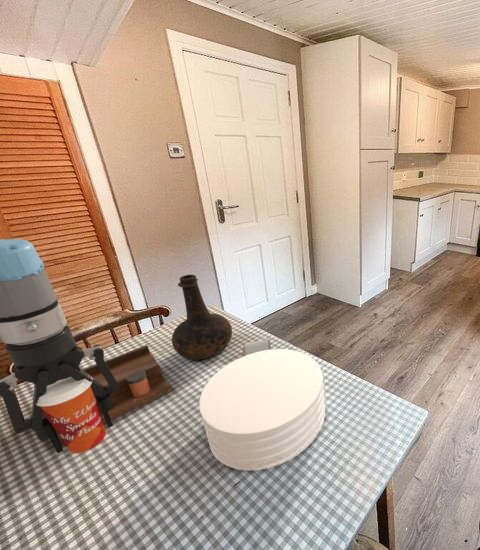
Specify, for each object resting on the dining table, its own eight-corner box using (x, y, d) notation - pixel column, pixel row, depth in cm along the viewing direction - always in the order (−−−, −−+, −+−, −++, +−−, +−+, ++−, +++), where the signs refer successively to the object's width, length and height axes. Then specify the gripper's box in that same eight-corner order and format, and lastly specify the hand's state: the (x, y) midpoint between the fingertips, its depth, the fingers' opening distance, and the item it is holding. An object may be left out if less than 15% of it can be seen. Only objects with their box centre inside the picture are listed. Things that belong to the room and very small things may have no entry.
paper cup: (69, 466, 54) (38, 407, 49) (54, 445, 58) (24, 388, 53) (120, 434, 60) (98, 379, 55) (104, 417, 64) (81, 364, 59)
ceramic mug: (246, 358, 100) (242, 338, 97) (272, 353, 103) (269, 334, 99) (244, 379, 91) (240, 359, 88) (273, 374, 93) (269, 353, 90)
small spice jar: (128, 397, 80) (122, 381, 78) (139, 385, 84) (134, 370, 82) (143, 397, 80) (138, 381, 78) (154, 386, 84) (149, 370, 82)
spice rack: (49, 414, 79) (35, 387, 76) (154, 368, 96) (146, 344, 92) (56, 451, 69) (40, 422, 66) (172, 393, 86) (164, 367, 82)
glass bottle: (234, 332, 115) (220, 262, 104) (235, 359, 100) (220, 281, 89) (180, 343, 108) (160, 270, 98) (173, 374, 93) (148, 292, 83)
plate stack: (267, 370, 95) (262, 339, 90) (344, 400, 83) (343, 366, 79) (182, 441, 71) (170, 404, 67) (274, 496, 60) (267, 456, 56)
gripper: (-64, 374, 41) (11, 487, 49) (116, 318, 54) (150, 414, 63) (-58, 351, 45) (9, 458, 54) (107, 305, 59) (140, 396, 68)
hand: (85, 434), depth 58 cm, fingers closed on paper cup, 7 cm apart
